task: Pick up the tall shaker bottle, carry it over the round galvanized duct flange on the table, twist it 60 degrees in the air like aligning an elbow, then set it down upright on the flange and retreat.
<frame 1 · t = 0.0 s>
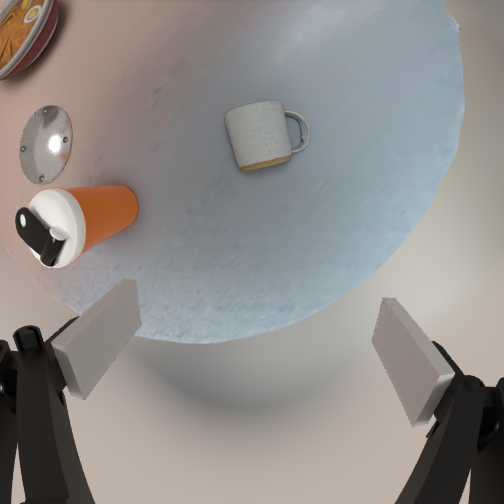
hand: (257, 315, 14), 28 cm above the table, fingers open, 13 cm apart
ceramic mug: (269, 135, 38), on the table
shaker bottle: (120, 206, 42), on the table
flange: (44, 144, 39), on the table
bowl: (36, 39, 33), on the table
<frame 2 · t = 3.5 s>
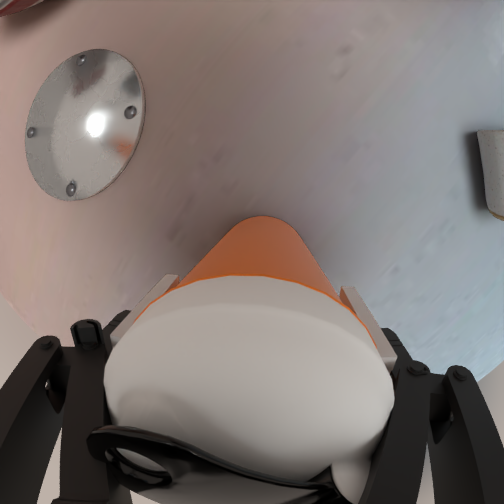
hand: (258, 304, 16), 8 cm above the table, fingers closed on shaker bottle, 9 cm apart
ceramic mug: (498, 166, 20), on the table
shaker bottle: (262, 257, 24), on the table, touching gripper
flange: (77, 122, 21), on the table
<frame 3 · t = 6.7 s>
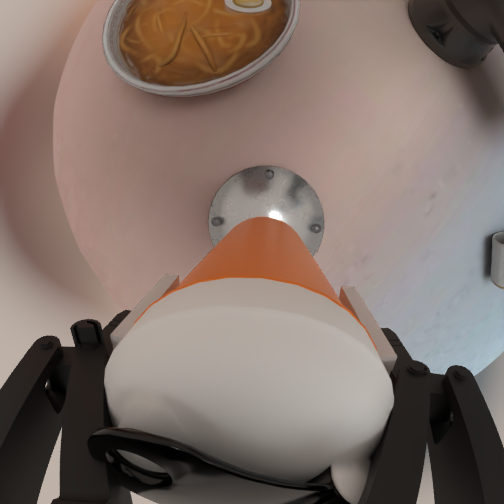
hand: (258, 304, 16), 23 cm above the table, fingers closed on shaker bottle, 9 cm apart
ceramic mug: (501, 250, 36), on the table
shaker bottle: (262, 258, 24), point 14 cm above the table, touching gripper
flange: (266, 223, 37), on the table
bowl: (210, 39, 31), on the table
when the fingers open (10 cm above the table, at t = 10.1 s): shaker bottle stays where it is, resting on flange.
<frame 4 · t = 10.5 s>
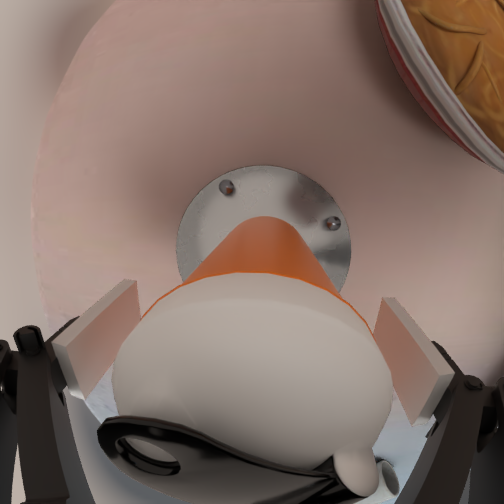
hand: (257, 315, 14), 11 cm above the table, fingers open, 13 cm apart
ceramic mug: (370, 471, 35), on the table
shaker bottle: (264, 256, 24), point 1 cm above the table, touching flange
flange: (263, 254, 25), on the table
bowl: (450, 66, 18), on the table
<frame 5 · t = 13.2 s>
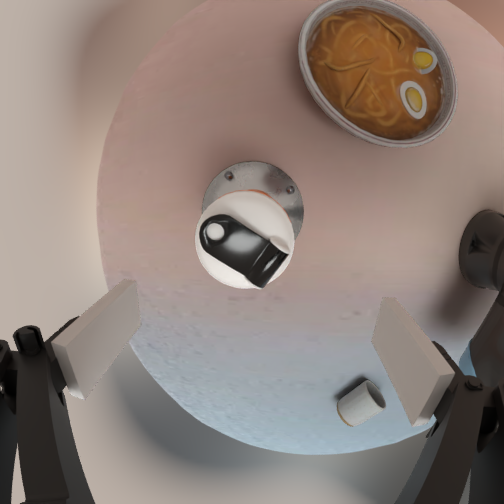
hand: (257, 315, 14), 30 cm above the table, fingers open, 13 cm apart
ceramic mug: (361, 393, 52), on the table
shaker bottle: (253, 212, 42), point 1 cm above the table, touching flange
flange: (252, 211, 43), on the table
bowl: (364, 82, 36), on the table
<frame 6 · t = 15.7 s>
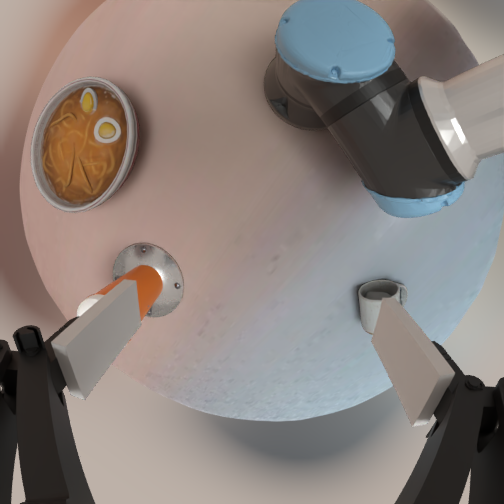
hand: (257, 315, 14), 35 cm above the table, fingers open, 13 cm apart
ceramic mug: (379, 295, 51), on the table
shaker bottle: (146, 281, 52), point 1 cm above the table, touching flange
flange: (147, 280, 53), on the table
bowl: (104, 145, 46), on the table
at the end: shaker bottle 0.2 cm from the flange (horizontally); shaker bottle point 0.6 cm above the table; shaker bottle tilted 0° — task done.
